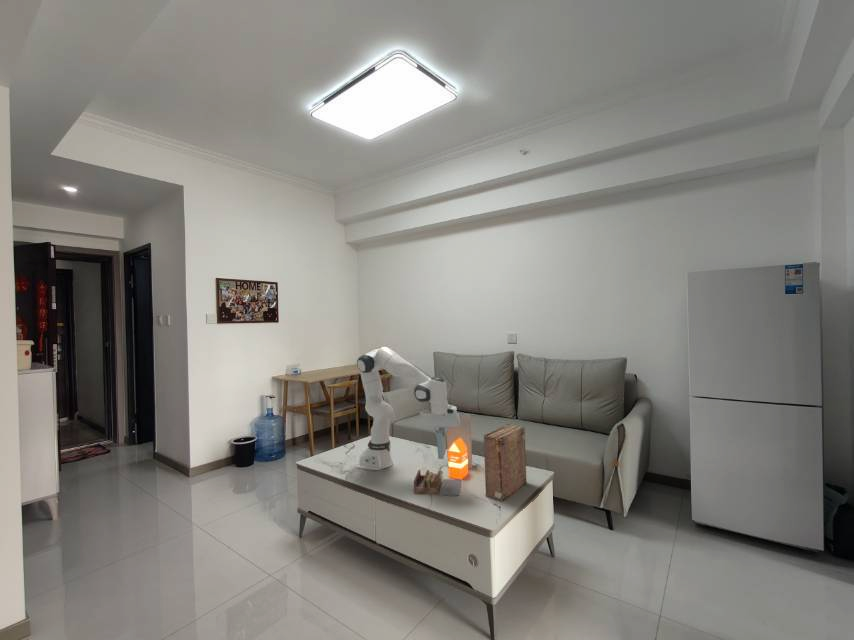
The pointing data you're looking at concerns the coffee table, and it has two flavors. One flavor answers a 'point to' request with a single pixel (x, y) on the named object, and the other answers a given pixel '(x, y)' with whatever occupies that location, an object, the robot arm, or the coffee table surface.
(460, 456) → the orange juice
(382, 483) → the coffee table surface
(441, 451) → the light blue slab
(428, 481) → the offcut
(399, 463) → the coffee table surface
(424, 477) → the rack
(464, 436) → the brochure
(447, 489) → the mat
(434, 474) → the offcut
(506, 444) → the book
